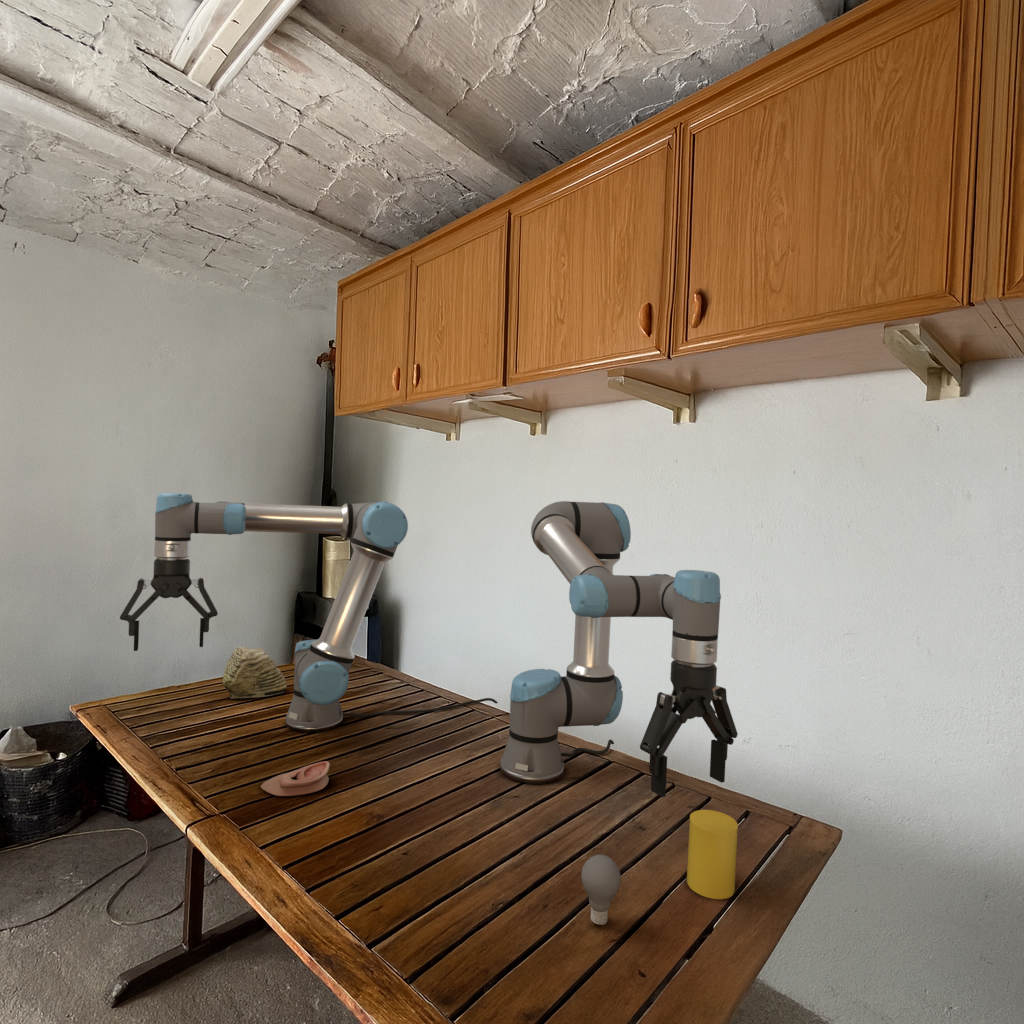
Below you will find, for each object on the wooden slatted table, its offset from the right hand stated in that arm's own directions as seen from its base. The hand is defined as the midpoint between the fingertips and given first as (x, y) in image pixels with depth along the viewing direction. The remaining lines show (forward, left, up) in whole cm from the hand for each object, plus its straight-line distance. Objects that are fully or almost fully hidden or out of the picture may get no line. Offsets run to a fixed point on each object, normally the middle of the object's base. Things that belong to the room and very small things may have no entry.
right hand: (688, 786), depth 108 cm
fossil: (+26, -140, -17) cm, 143 cm away
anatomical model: (+39, -73, -17) cm, 84 cm away
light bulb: (+19, -2, -17) cm, 26 cm away
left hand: (+58, -105, +9) cm, 120 cm away
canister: (-4, +3, -17) cm, 18 cm away
